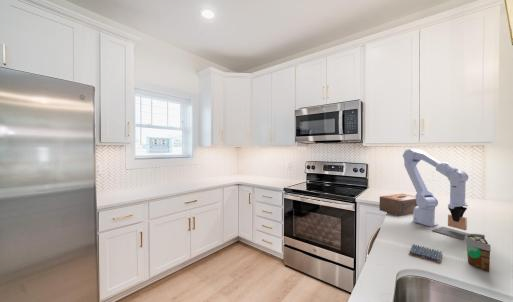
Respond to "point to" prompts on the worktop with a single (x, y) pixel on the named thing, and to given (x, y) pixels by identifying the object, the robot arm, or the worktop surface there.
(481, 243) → the food container
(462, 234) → the mat
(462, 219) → the tile
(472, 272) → the worktop surface
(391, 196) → the tissue box cover
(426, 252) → the spiky blue-grey pad
